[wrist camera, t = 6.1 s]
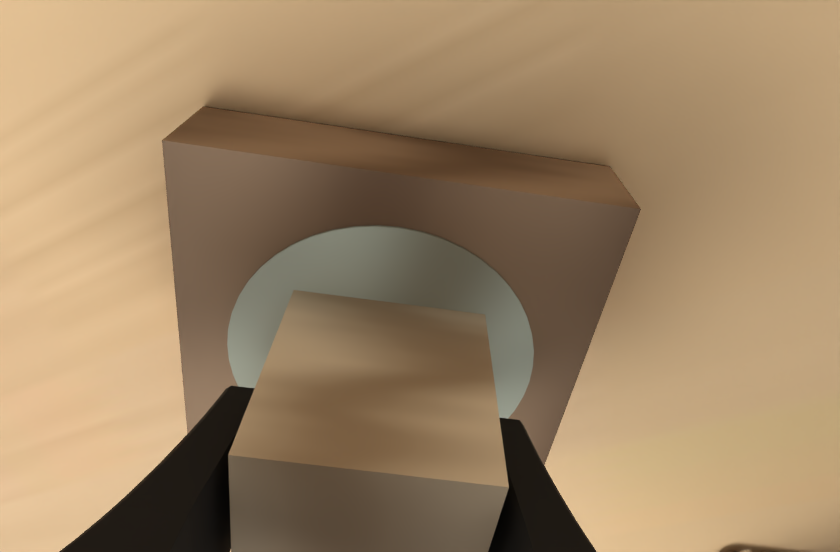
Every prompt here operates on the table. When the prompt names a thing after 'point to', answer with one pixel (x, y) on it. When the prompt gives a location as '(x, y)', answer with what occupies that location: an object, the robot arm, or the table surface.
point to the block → (370, 433)
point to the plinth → (387, 247)
